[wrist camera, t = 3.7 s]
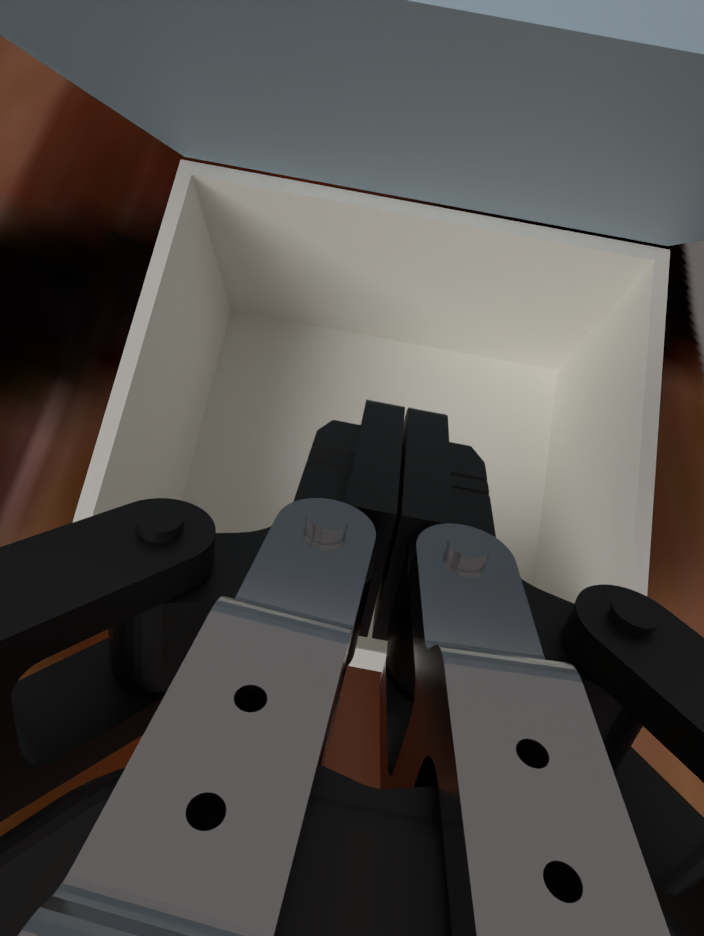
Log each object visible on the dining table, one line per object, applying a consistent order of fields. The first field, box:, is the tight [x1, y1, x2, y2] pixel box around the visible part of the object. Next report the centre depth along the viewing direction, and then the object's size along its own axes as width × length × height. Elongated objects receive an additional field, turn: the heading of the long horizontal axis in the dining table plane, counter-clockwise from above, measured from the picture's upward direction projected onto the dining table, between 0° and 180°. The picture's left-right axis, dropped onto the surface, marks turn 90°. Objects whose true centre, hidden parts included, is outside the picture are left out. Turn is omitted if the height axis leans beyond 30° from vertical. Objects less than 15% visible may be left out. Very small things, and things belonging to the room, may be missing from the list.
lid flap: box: [0, 0, 704, 246], centre depth 17 cm, size 18×20×1 cm
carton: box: [73, 160, 670, 672], centre depth 30 cm, size 18×20×12 cm
